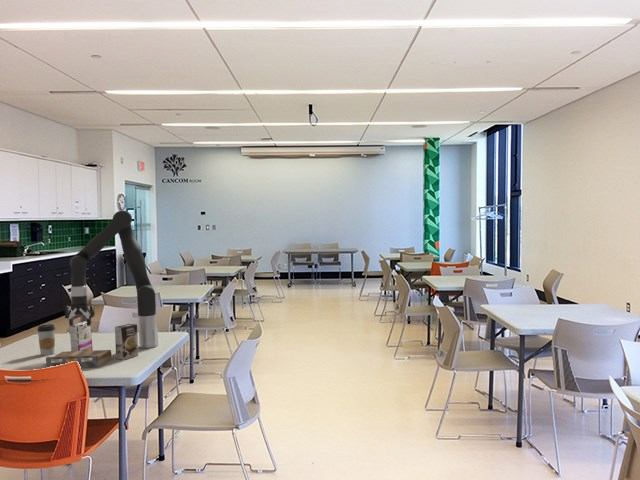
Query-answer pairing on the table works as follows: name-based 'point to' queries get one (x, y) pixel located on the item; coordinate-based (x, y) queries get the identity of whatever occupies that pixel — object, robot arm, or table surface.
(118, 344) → the coffee box
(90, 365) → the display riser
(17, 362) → the table surface
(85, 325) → the candy bar box
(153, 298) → the robot arm
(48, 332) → the coffee cup
